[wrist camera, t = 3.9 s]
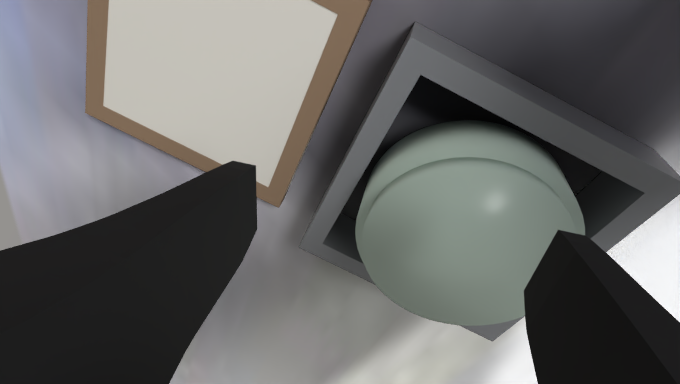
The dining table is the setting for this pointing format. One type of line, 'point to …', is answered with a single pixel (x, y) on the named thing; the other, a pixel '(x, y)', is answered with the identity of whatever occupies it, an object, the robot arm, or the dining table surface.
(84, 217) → the dining table surface
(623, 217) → the grey square tray
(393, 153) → the dome
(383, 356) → the dining table surface
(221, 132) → the board
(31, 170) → the dining table surface
